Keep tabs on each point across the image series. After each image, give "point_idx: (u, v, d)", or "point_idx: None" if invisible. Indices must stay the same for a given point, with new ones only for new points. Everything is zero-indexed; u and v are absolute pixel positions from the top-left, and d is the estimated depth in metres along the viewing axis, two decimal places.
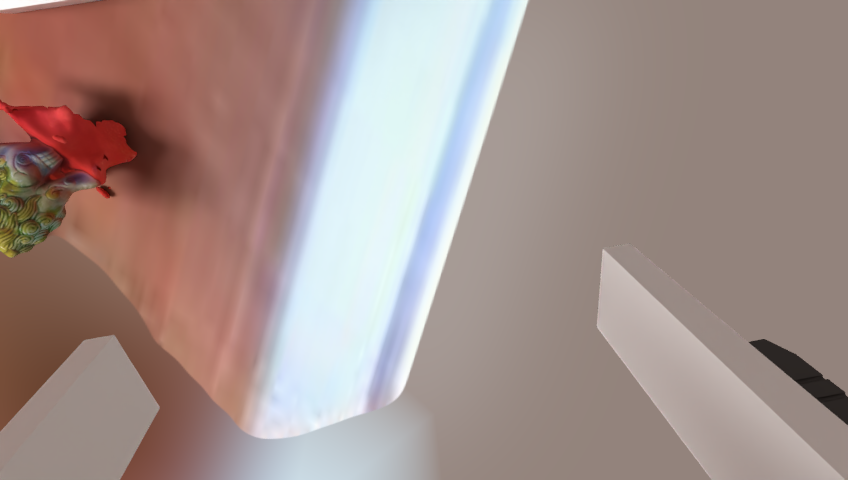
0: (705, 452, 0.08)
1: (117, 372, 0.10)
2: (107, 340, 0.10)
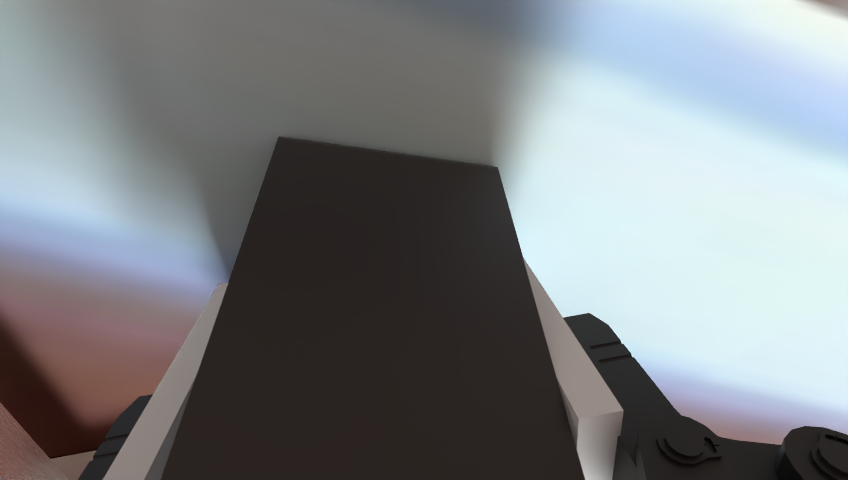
0: None
1: None
2: None
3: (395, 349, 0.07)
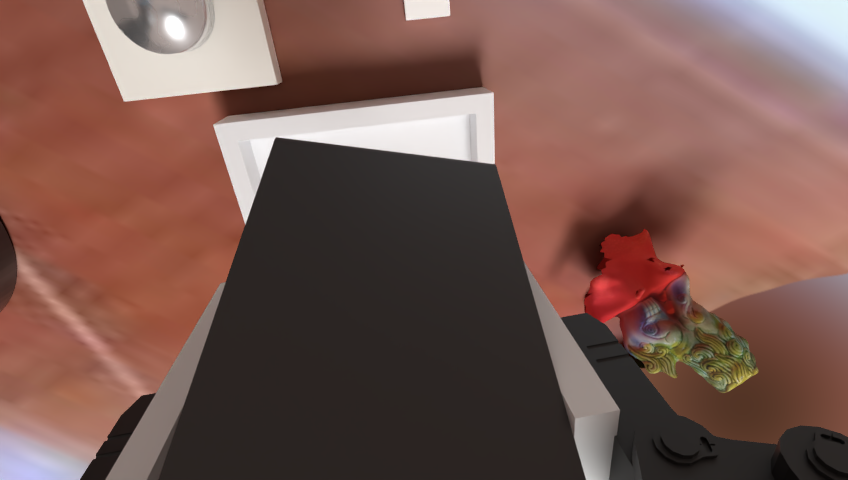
0: None
1: None
2: None
3: (393, 348, 0.07)
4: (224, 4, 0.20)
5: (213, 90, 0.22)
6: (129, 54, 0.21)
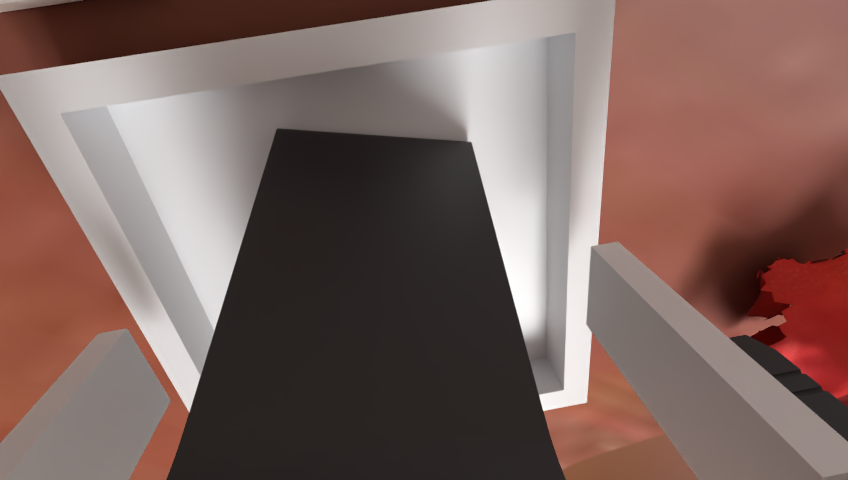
0: (687, 445, 0.08)
1: (130, 365, 0.11)
2: (120, 333, 0.11)
3: (378, 289, 0.09)
4: None
5: None
6: None
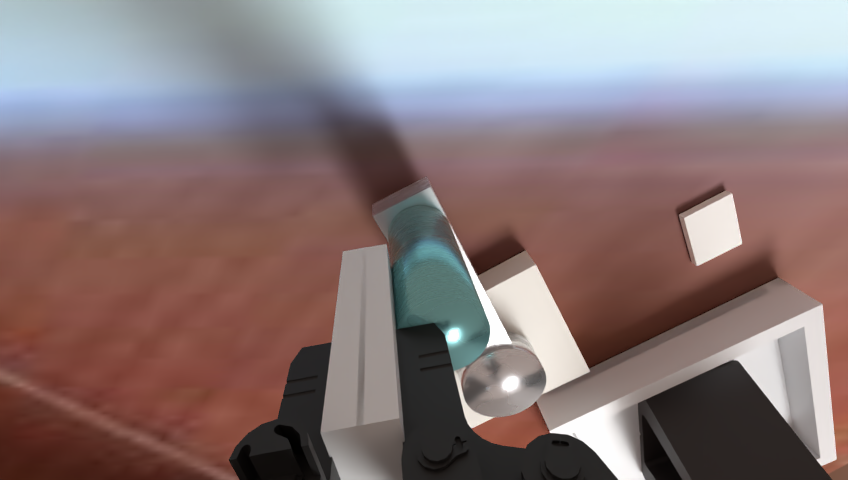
0: None
1: None
2: (364, 250, 0.13)
3: None
4: (537, 338, 0.21)
5: None
6: (461, 402, 0.22)
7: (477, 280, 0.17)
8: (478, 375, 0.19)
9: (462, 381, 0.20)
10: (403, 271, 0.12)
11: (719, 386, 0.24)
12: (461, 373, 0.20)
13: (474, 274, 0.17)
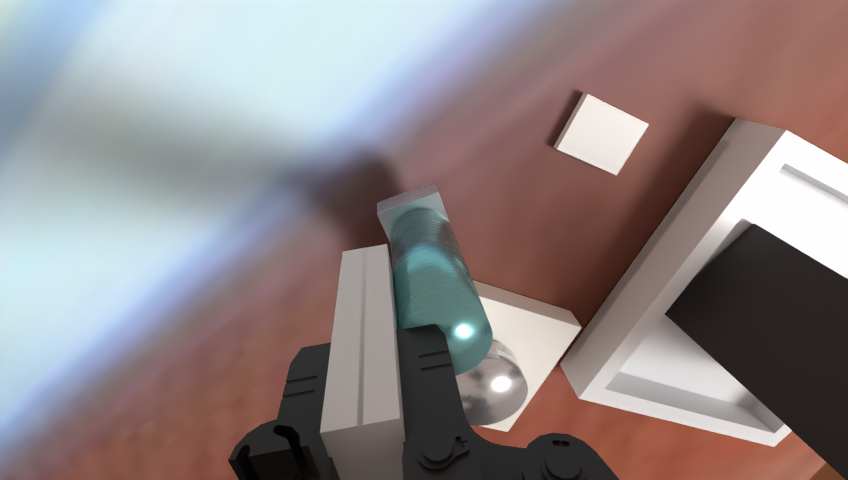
0: None
1: None
2: (364, 250, 0.13)
3: (834, 363, 0.16)
4: (500, 332, 0.21)
5: (547, 374, 0.22)
6: None
7: None
8: (462, 382, 0.19)
9: None
10: (409, 273, 0.12)
11: (742, 265, 0.20)
12: None
13: None
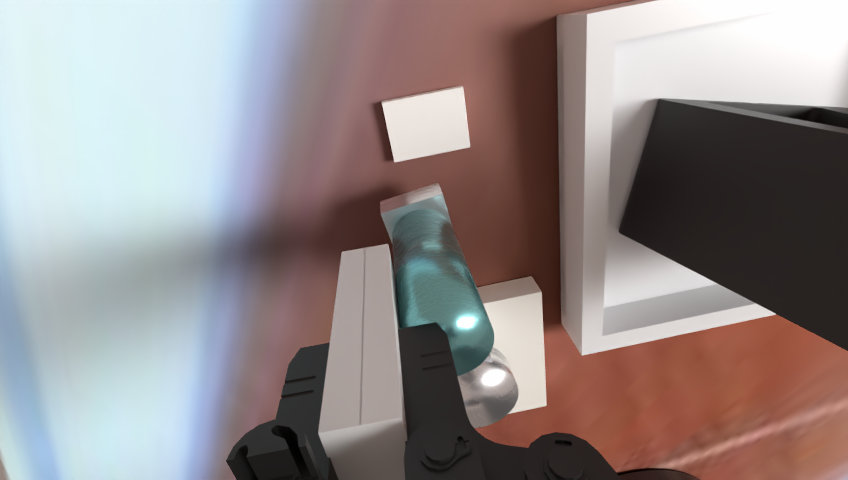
0: None
1: None
2: (363, 250, 0.13)
3: (794, 224, 0.13)
4: None
5: (542, 344, 0.21)
6: None
7: None
8: None
9: None
10: (412, 273, 0.12)
11: (666, 151, 0.17)
12: None
13: None
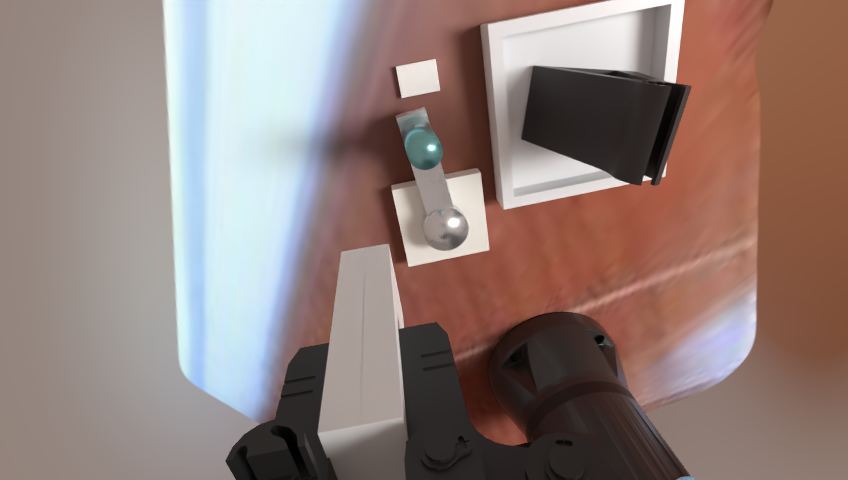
0: None
1: None
2: (362, 250, 0.13)
3: (578, 116, 0.30)
4: None
5: (483, 206, 0.38)
6: (466, 244, 0.40)
7: (440, 164, 0.34)
8: (433, 220, 0.36)
9: (424, 224, 0.36)
10: (411, 131, 0.29)
11: (536, 91, 0.33)
12: (424, 221, 0.37)
13: None
